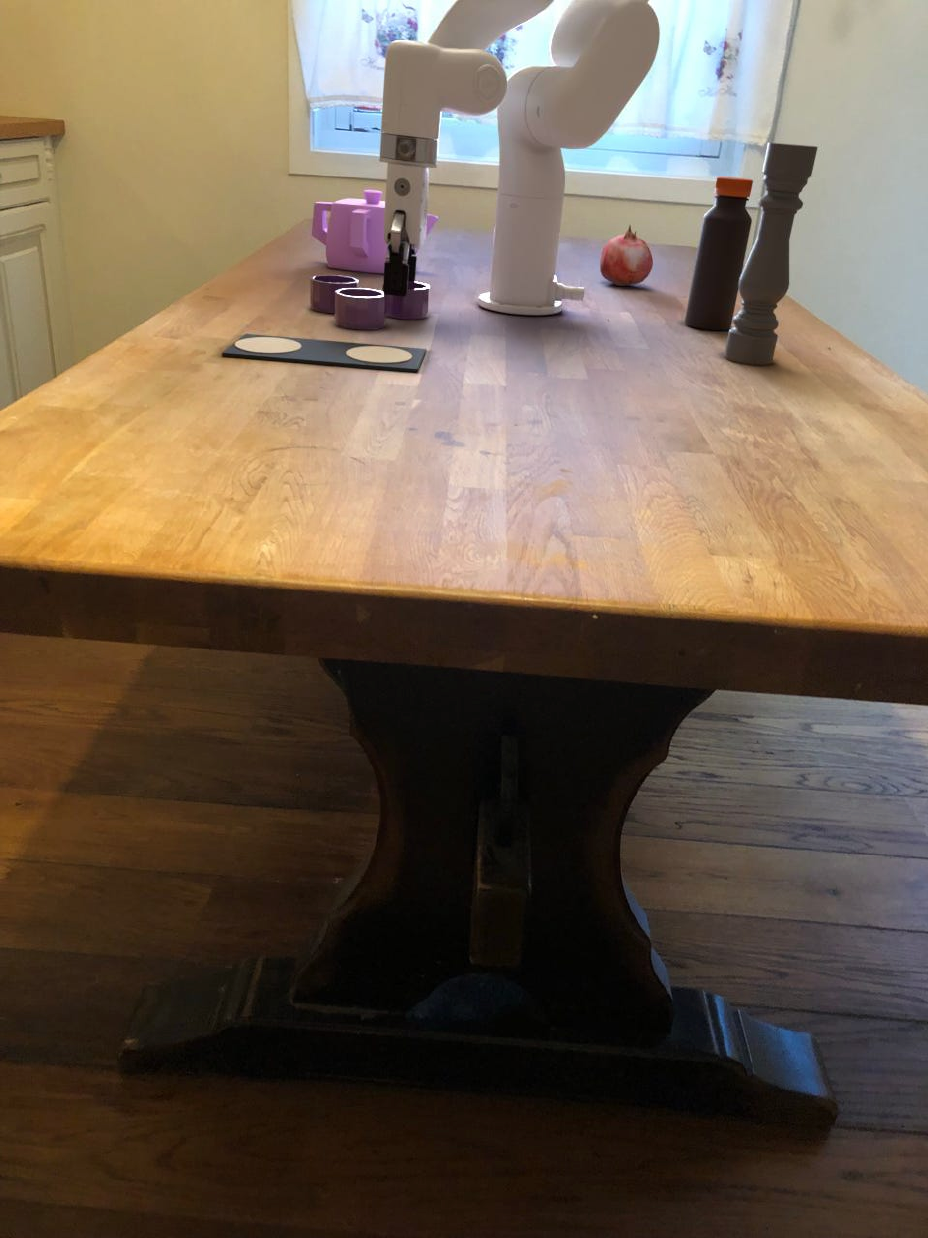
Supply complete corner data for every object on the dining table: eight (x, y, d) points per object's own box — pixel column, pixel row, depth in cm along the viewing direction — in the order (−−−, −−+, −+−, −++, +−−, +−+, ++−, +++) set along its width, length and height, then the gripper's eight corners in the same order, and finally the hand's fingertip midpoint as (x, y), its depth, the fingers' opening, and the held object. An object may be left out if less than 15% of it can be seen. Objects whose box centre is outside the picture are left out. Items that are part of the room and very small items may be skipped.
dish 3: (430, 311, 136) (431, 282, 134) (425, 321, 130) (427, 290, 128) (385, 308, 136) (386, 279, 134) (378, 317, 130) (379, 286, 128)
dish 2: (387, 320, 129) (388, 290, 127) (381, 331, 123) (381, 299, 121) (340, 317, 129) (340, 286, 127) (331, 327, 123) (331, 295, 121)
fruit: (610, 277, 175) (618, 219, 170) (657, 286, 170) (666, 226, 165) (586, 282, 168) (593, 221, 163) (634, 291, 164) (643, 229, 159)
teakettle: (305, 260, 168) (304, 184, 162) (386, 257, 178) (388, 185, 172) (355, 277, 157) (356, 195, 151) (438, 273, 166) (443, 196, 160)
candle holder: (774, 367, 120) (823, 147, 108) (724, 361, 121) (767, 143, 109) (770, 356, 126) (816, 145, 114) (722, 351, 127) (763, 141, 115)
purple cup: (361, 306, 136) (361, 276, 134) (353, 315, 130) (353, 284, 128) (316, 302, 136) (316, 273, 134) (306, 311, 131) (306, 280, 129)
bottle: (675, 323, 141) (701, 175, 131) (699, 319, 145) (725, 175, 136) (716, 333, 137) (745, 180, 127) (738, 327, 141) (769, 180, 132)
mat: (426, 352, 115) (426, 347, 114) (417, 372, 106) (417, 368, 106) (245, 336, 115) (245, 332, 115) (222, 356, 106) (221, 351, 106)
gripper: (431, 157, 115) (419, 302, 123) (442, 154, 131) (431, 284, 139) (370, 149, 115) (362, 296, 123) (388, 148, 131) (380, 278, 139)
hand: (399, 289), depth 131 cm, fingers open, 9 cm apart
